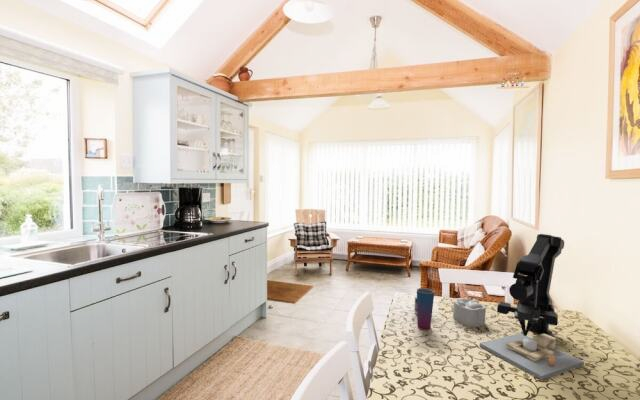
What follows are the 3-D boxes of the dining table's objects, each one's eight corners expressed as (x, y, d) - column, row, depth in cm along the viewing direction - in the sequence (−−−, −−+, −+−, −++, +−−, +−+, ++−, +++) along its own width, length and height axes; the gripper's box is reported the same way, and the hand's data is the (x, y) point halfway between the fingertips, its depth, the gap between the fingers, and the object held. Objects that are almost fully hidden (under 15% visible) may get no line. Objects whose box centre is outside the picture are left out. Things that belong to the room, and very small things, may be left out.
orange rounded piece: (550, 363, 108) (550, 354, 108) (555, 365, 106) (556, 356, 106) (547, 364, 107) (547, 355, 107) (552, 366, 106) (552, 357, 106)
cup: (433, 331, 131) (435, 294, 131) (415, 329, 133) (417, 292, 132) (431, 324, 138) (433, 288, 137) (414, 322, 140) (416, 287, 139)
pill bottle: (412, 310, 153) (413, 289, 152) (424, 310, 153) (425, 289, 153) (417, 315, 147) (418, 293, 146) (429, 315, 148) (430, 293, 147)
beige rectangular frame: (534, 361, 108) (535, 350, 108) (506, 347, 118) (506, 337, 117) (564, 352, 115) (565, 342, 115) (535, 339, 124) (536, 330, 124)
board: (519, 336, 130) (520, 322, 129) (583, 365, 110) (584, 349, 109) (479, 346, 121) (480, 332, 120) (541, 379, 101) (542, 363, 100)
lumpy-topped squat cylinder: (469, 327, 136) (470, 307, 136) (446, 315, 148) (447, 296, 148) (488, 324, 140) (489, 304, 139) (464, 312, 152) (465, 294, 152)
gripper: (496, 294, 122) (493, 335, 123) (558, 306, 111) (555, 352, 112) (500, 286, 131) (498, 325, 132) (558, 297, 120) (556, 339, 121)
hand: (525, 335), depth 124 cm, fingers closed
